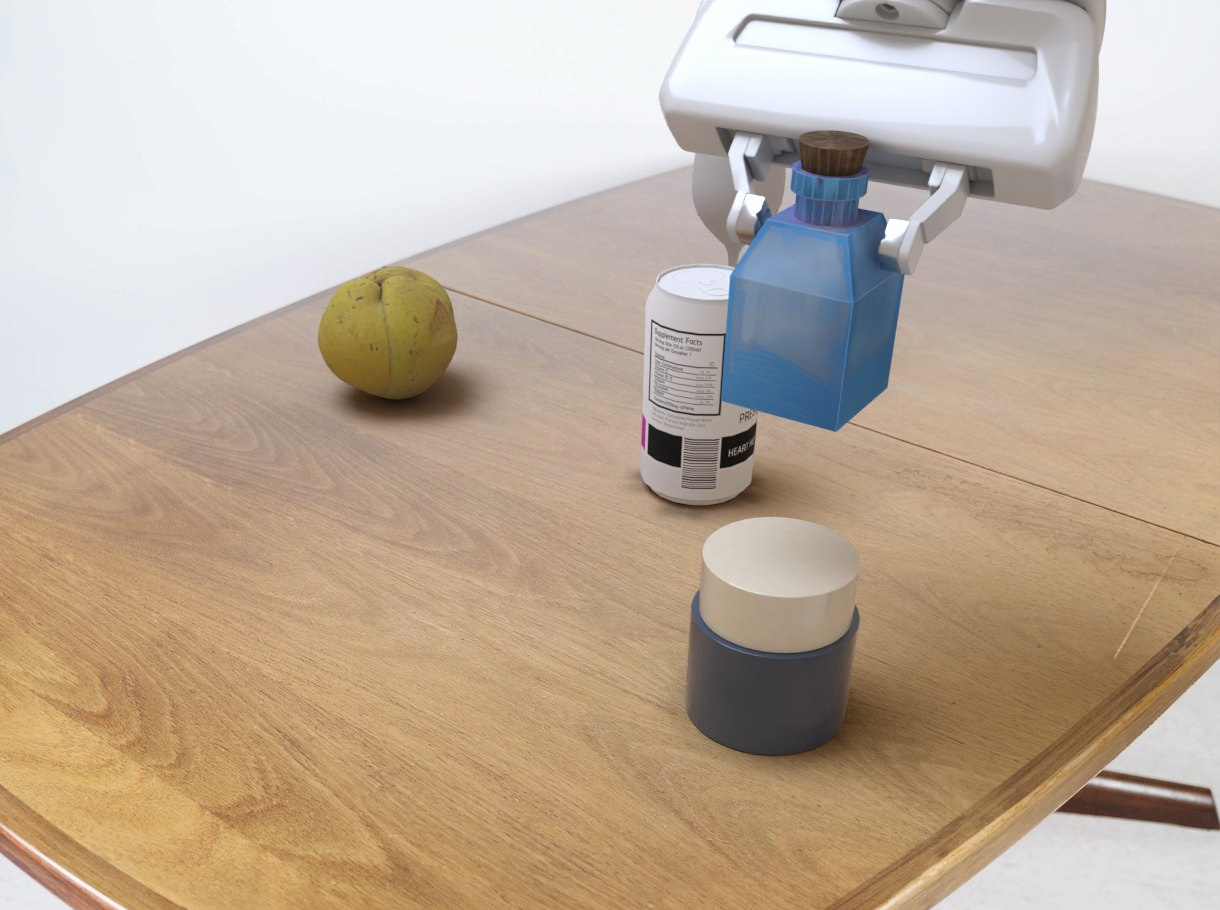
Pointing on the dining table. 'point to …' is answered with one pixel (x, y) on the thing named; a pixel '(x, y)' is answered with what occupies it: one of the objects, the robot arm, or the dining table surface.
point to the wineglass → (728, 196)
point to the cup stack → (773, 635)
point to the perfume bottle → (814, 296)
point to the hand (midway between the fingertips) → (817, 252)
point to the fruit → (389, 332)
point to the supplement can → (692, 392)
